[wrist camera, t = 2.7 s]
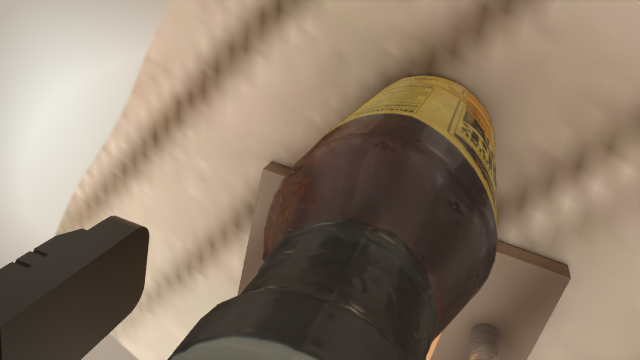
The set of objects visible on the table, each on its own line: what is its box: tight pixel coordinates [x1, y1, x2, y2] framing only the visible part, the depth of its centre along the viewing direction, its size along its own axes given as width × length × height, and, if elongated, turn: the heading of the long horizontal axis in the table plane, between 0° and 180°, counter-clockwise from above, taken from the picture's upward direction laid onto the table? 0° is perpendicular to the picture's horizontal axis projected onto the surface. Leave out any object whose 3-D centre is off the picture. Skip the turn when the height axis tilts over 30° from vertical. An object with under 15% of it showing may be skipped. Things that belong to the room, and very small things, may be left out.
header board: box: [238, 162, 571, 360], centre depth 29 cm, size 16×16×1 cm
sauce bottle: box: [168, 75, 497, 360], centre depth 16 cm, size 6×6×20 cm
